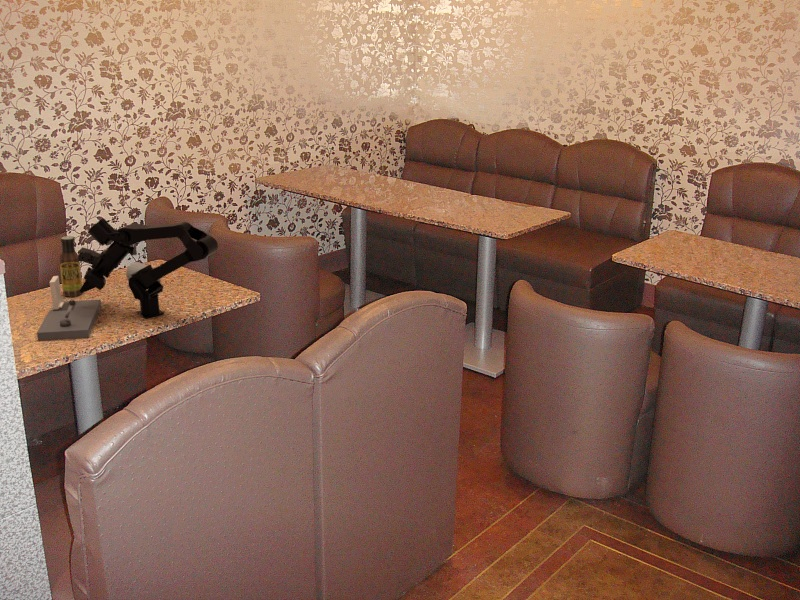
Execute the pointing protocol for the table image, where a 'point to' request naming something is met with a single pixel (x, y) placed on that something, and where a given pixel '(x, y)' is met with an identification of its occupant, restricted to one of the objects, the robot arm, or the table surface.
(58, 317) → the switch panel
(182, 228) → the robot arm
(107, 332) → the table surface
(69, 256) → the sauce bottle
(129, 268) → the ceramic mug
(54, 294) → the ivory paddle
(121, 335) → the table surface
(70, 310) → the steel toggle lever
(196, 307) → the table surface
